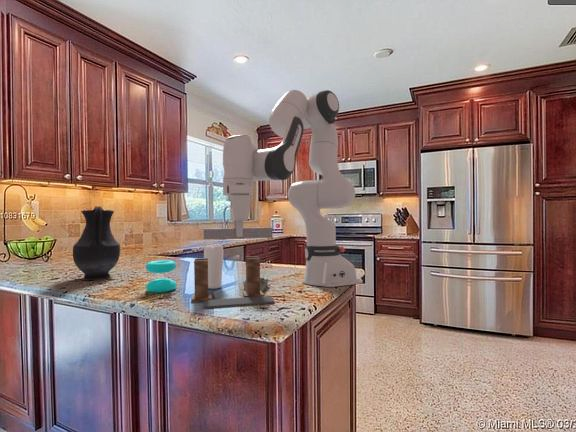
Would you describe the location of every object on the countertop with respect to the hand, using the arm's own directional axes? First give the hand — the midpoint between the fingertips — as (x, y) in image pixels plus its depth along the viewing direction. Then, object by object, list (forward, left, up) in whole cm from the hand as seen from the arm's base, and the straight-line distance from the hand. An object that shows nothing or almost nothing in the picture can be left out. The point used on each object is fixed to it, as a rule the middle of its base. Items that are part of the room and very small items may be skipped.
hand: (238, 236), depth 99 cm
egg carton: (-7, -18, -20) cm, 28 cm away
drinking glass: (+7, -23, -20) cm, 31 cm away
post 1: (+11, -7, -20) cm, 24 cm away
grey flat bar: (0, 0, -20) cm, 20 cm away
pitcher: (+54, -54, -20) cm, 79 cm away
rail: (0, 0, -1) cm, 1 cm away
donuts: (+25, -24, -20) cm, 40 cm away
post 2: (-5, -7, -20) cm, 22 cm away
